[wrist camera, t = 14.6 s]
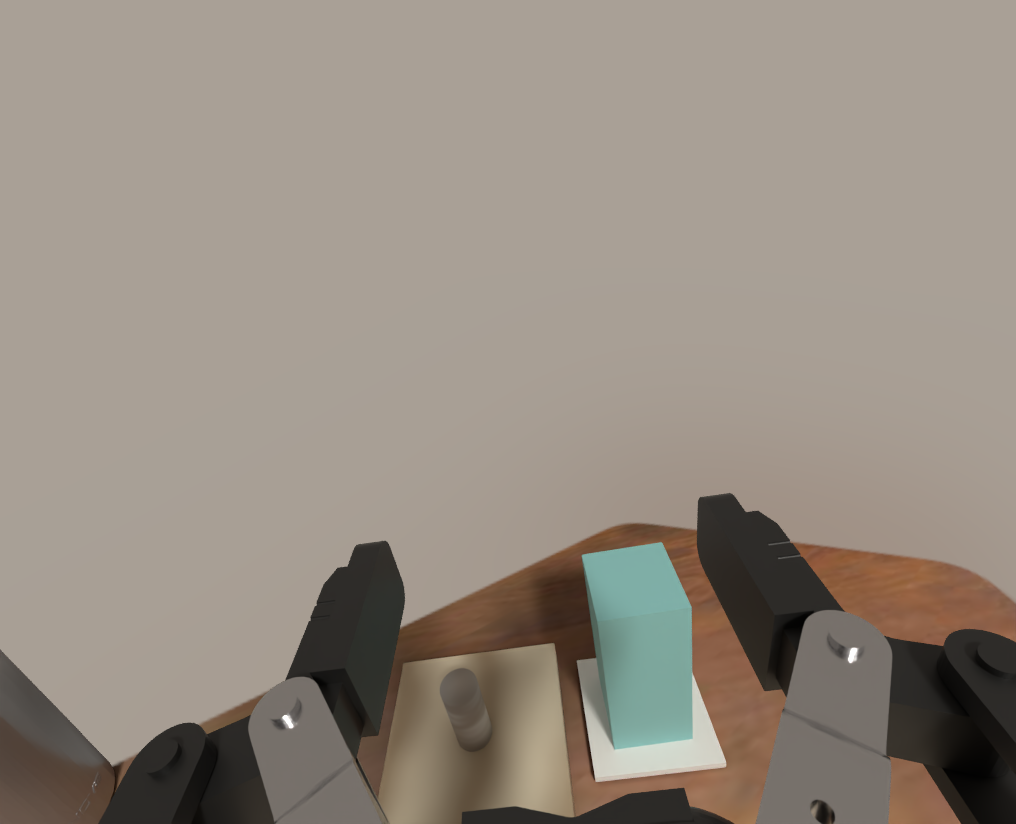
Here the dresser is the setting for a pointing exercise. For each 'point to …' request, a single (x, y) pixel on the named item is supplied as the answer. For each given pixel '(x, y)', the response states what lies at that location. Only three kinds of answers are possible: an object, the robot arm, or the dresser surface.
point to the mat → (649, 757)
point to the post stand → (477, 738)
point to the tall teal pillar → (641, 644)
